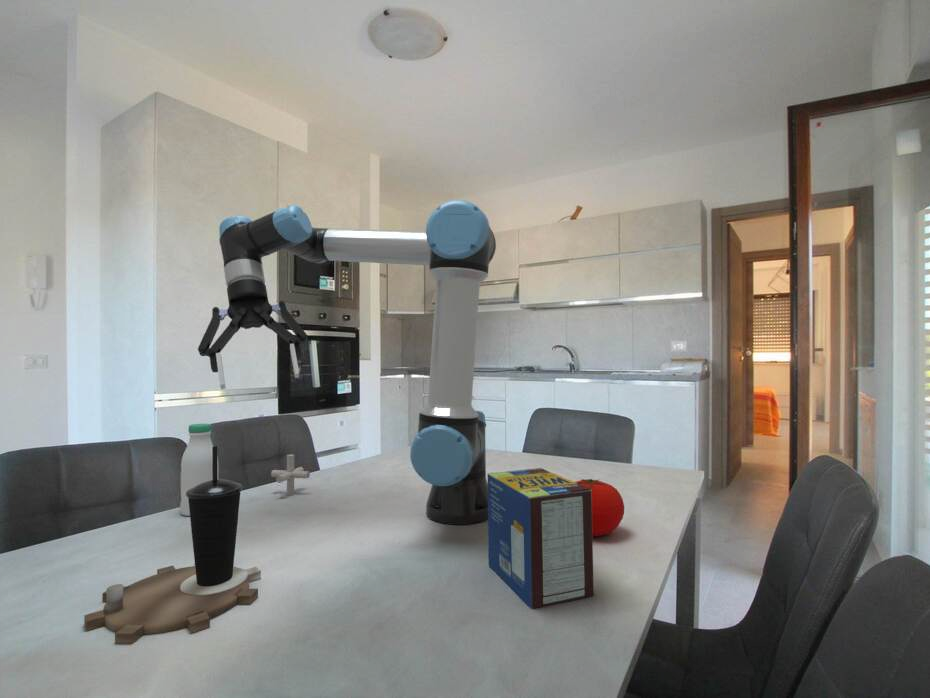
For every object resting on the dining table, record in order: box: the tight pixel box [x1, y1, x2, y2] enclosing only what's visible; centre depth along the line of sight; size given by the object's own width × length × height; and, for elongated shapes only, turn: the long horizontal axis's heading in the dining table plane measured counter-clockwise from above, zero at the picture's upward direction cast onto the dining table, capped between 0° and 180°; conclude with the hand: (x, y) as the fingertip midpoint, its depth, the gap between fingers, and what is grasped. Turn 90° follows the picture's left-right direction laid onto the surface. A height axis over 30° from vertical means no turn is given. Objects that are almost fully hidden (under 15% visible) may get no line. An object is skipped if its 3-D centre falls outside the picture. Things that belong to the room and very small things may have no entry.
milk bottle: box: [179, 423, 220, 517], centre depth 111 cm, size 8×8×20 cm
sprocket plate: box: [83, 565, 262, 645], centre depth 70 cm, size 22×22×4 cm
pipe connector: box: [270, 454, 311, 496], centre depth 125 cm, size 10×10×10 cm
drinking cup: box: [186, 445, 244, 586], centre depth 73 cm, size 8×8×20 cm
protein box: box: [487, 467, 595, 609], centre depth 75 cm, size 10×15×16 cm
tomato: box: [574, 478, 625, 537], centre depth 95 cm, size 12×12×10 cm
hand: (261, 381), depth 95 cm, fingers open, 13 cm apart
